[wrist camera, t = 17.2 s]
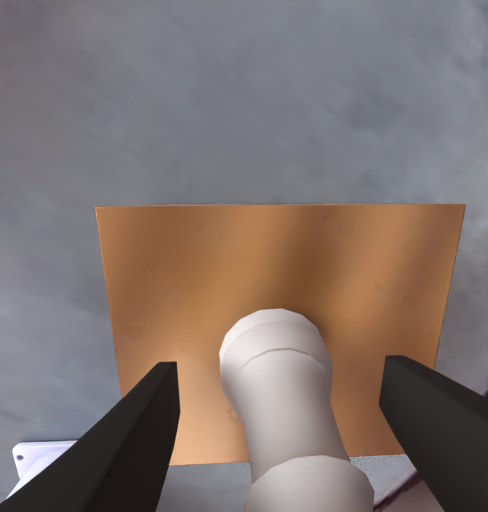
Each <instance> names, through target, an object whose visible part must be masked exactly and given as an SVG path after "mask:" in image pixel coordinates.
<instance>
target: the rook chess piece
mask: <svg viewBox="0 0 488 512" xmlns="http://www.w3.org/2000/svg"><path fill="white" fill-rule="evenodd" d="M219 357H220V376H221V386H222V390H223V393H224V395H225V396H226V398H227V400H228V401H229V403H230V405H231V406H232V408H233V410H234V412H235V413H236V415H237V416H238V418H239V420H240V421H241V423H242V424H243V428H244V433H245V439H246V444H247V449H248V454H249V460H250V465H251V474H252V487H251V489H250V491H249V494H248V496H247V498H246V500H245V503H244V512H373V502H374V490H373V488H372V486H371V484H370V482H369V480H368V478H367V476H366V474H365V473H364V472H362V471H361V470H360V469H358V468H357V467H355V466H354V465H353V464H351V462H350V459H349V457H348V455H347V453H346V450H345V448H344V446H343V443H342V439H341V436H340V433H339V430H338V426H337V423H336V420H335V417H334V413H333V410H332V407H331V403H330V401H331V395H332V374H333V365H332V359H331V356H330V354H329V352H328V350H327V348H326V345H325V343H324V341H323V340H322V337H321V335H320V333H319V331H318V329H317V327H316V326H315V325H313V324H312V323H311V322H310V321H309V320H308V319H306V318H305V317H304V316H303V315H301V314H298V313H295V312H292V311H288V310H285V309H282V308H280V309H268V310H259V311H257V312H255V313H252V314H250V315H248V316H246V317H244V318H242V319H240V320H239V321H238V322H237V323H236V324H235V325H234V326H233V327H232V328H231V329H230V330H229V332H228V333H227V334H226V335H225V338H224V341H223V343H222V346H221V349H220V352H219Z"/></svg>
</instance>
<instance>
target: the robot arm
mask: <svg viewBox="0 0 488 512" xmlns="http://www.w3.org/2000/svg"><path fill="white" fill-rule="evenodd" d="M379 407H380V409H381V411H382V413H383V415H384V417H385V419H386V421H387V423H388V425H389V426H390V428H391V430H392V432H393V434H394V436H395V437H396V439H397V441H398V442H399V444H400V445H401V447H402V448H403V450H404V451H405V453H406V454H407V456H408V458H409V459H410V461H411V462H412V464H413V465H414V467H415V468H416V470H417V471H418V473H419V474H420V476H421V477H422V479H423V480H424V482H425V483H426V485H427V486H428V487H429V489H430V490H431V492H432V493H433V495H434V496H435V498H436V499H437V501H438V502H439V504H440V505H441V507H442V508H443V510H444V511H445V512H488V399H487V398H486V397H484V396H482V395H480V394H478V393H476V392H474V391H472V390H470V389H468V388H467V387H465V386H463V385H461V384H459V383H457V382H455V381H453V380H451V379H450V378H448V377H446V376H444V375H442V374H440V373H438V372H436V371H435V370H433V369H431V368H429V367H427V366H425V365H423V364H421V363H419V362H417V361H415V360H413V359H411V358H408V357H406V356H404V355H386V356H385V363H384V370H383V377H382V384H381V391H380V398H379ZM180 413H181V410H180V397H179V384H178V370H177V361H171V362H158V363H157V364H156V365H155V366H154V367H153V368H152V369H151V370H150V371H149V372H148V373H147V374H146V375H145V376H144V377H143V378H142V379H141V380H140V381H139V382H138V383H137V384H136V385H135V386H134V387H133V388H132V389H131V390H130V391H129V392H128V393H127V394H126V395H125V396H124V397H123V398H122V399H121V400H120V401H119V402H118V403H117V404H116V405H115V406H114V407H113V408H112V409H111V410H110V411H109V412H108V413H107V414H106V415H105V416H104V417H103V418H102V419H101V420H100V421H98V422H97V423H96V424H95V425H94V426H93V427H92V428H91V429H90V430H89V431H87V432H86V433H85V434H84V435H83V436H82V437H81V438H80V439H79V440H75V441H51V442H26V443H19V444H17V445H16V446H15V447H14V449H13V456H14V459H15V463H16V467H17V470H18V474H19V477H20V481H19V483H18V484H17V485H16V487H15V488H14V489H13V490H12V492H11V493H10V494H9V496H8V497H7V498H6V500H4V501H3V502H2V503H0V512H156V508H157V505H158V501H159V498H160V495H161V491H162V488H163V484H164V481H165V477H166V474H167V470H168V467H169V463H170V460H171V456H172V453H173V449H174V445H175V440H176V435H177V430H178V424H179V418H180Z"/></svg>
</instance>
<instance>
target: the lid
mask: <svg viewBox="0 0 488 512" xmlns="http://www.w3.org/2000/svg"><path fill="white" fill-rule="evenodd" d="M465 207H466V205H465V204H362V205H210V206H97V207H95V211H96V218H97V225H98V232H99V239H100V247H101V254H102V261H103V268H104V275H105V282H106V289H107V296H108V303H109V311H110V318H111V325H112V332H113V339H114V346H115V353H116V360H117V367H118V375H119V382H120V389H121V396H122V398H123V397H124V396H125V395H126V394H127V393H128V392H129V391H130V390H131V389H132V388H133V387H134V386H135V385H136V384H137V383H138V382H139V381H140V380H141V379H142V378H143V377H144V376H145V375H146V374H147V373H148V372H149V371H150V370H151V369H152V368H153V367H154V366H155V365H156V364H157V363H158V362H171V361H177V370H178V384H179V397H180V410H181V413H180V418H179V424H178V430H177V435H176V440H175V445H174V449H173V453H172V456H171V460H170V463H169V466H173V465H194V464H214V463H234V462H250V460H249V454H248V449H247V444H246V439H245V433H244V428H243V424H242V423H241V421H240V420H239V418H238V416H237V415H236V413H235V412H234V410H233V408H232V406H231V405H230V403H229V401H228V400H227V398H226V396H225V395H224V393H223V390H222V386H221V376H220V357H219V352H220V349H221V346H222V343H223V341H224V338H225V335H226V334H227V333H228V332H229V330H230V329H231V328H232V327H233V326H234V325H235V324H236V323H237V322H238V321H239V320H240V319H242V318H244V317H246V316H248V315H250V314H252V313H255V312H257V311H259V310H268V309H280V308H282V309H285V310H288V311H292V312H295V313H298V314H301V315H303V316H304V317H305V318H306V319H308V320H309V321H310V322H311V323H312V324H313V325H315V326H316V327H317V329H318V331H319V333H320V335H321V337H322V340H323V341H324V343H325V345H326V348H327V350H328V352H329V354H330V356H331V359H332V365H333V374H332V395H331V401H330V403H331V407H332V410H333V413H334V417H335V420H336V423H337V426H338V430H339V433H340V436H341V439H342V443H343V446H344V448H345V450H346V453H347V455H348V457H356V456H376V455H397V454H406V453H405V451H404V450H403V448H402V447H401V445H400V444H399V442H398V441H397V439H396V437H395V436H394V434H393V432H392V430H391V428H390V426H389V425H388V423H387V421H386V419H385V417H384V415H383V413H382V411H381V409H380V407H379V398H380V391H381V384H382V377H383V370H384V363H385V356H386V355H404V356H406V357H408V358H411V359H413V360H415V361H417V362H419V363H421V364H423V365H425V366H427V367H429V368H431V369H433V370H434V366H435V361H436V356H437V351H438V346H439V340H440V335H441V330H442V325H443V320H444V315H445V310H446V305H447V299H448V294H449V289H450V284H451V279H452V274H453V269H454V264H455V259H456V253H457V248H458V243H459V238H460V233H461V228H462V223H463V218H464V212H465Z"/></svg>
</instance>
